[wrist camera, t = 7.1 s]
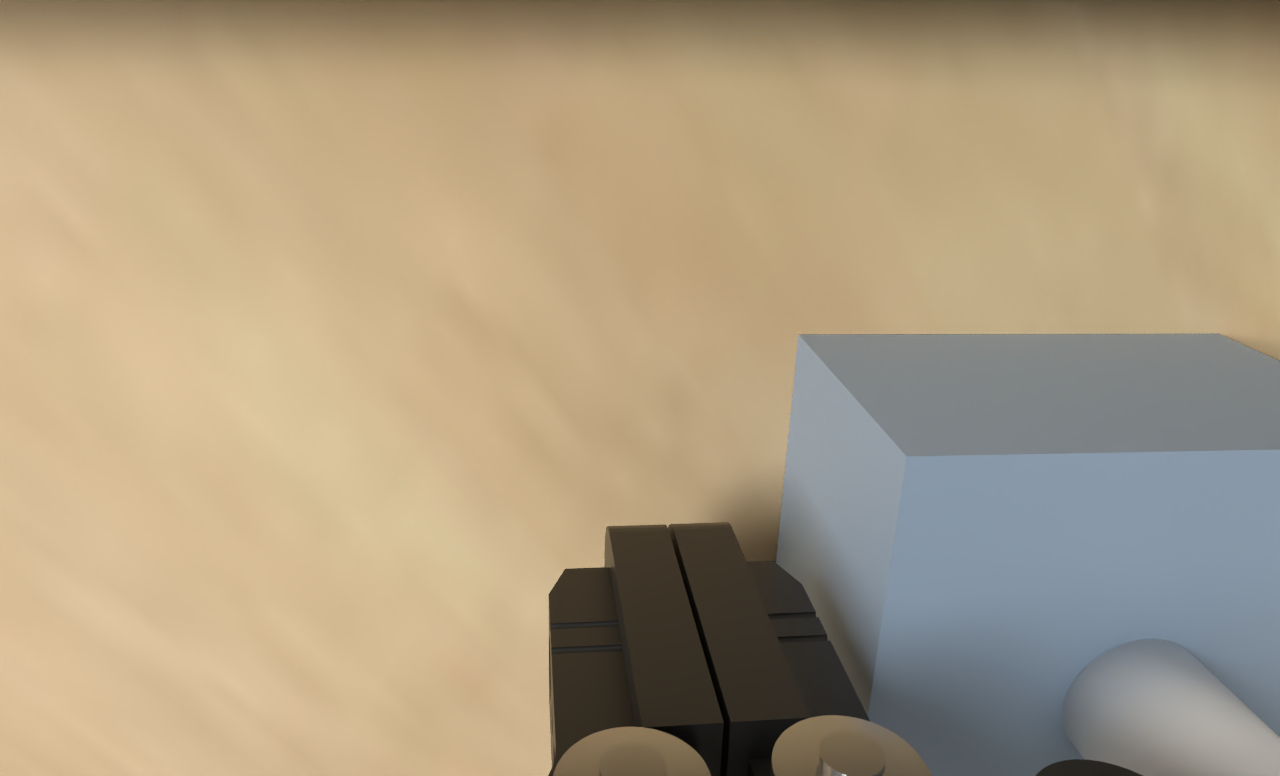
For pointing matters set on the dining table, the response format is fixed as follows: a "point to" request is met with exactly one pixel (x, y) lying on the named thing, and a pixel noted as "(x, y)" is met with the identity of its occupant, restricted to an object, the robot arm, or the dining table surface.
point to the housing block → (1045, 544)
